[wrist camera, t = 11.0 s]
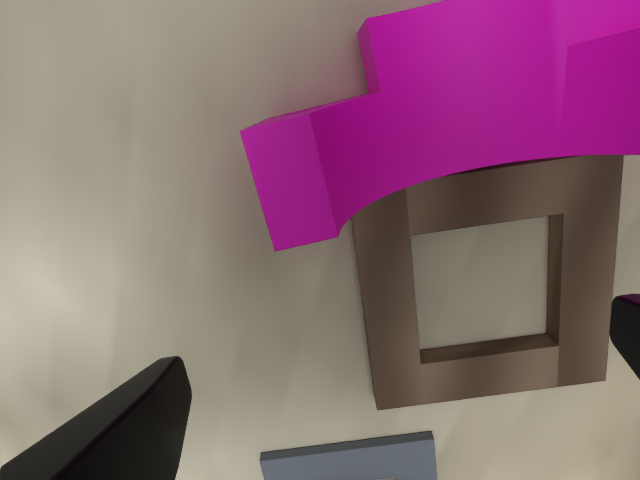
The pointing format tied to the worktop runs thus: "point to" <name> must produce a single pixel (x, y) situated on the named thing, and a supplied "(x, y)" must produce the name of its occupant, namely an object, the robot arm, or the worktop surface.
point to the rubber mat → (356, 460)
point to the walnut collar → (563, 279)
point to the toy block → (453, 106)
